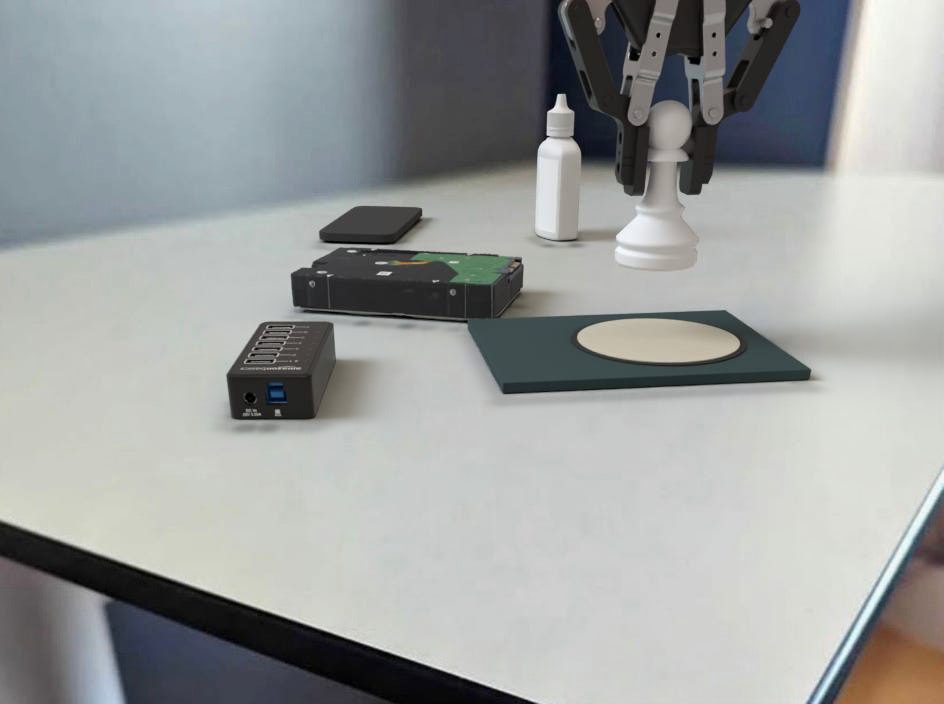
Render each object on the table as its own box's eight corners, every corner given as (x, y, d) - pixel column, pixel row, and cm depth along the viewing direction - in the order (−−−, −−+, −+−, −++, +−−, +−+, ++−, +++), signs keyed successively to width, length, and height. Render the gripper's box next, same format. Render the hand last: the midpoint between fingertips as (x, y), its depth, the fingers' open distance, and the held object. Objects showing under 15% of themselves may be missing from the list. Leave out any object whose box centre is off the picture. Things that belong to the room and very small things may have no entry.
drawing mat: (724, 318, 71) (725, 307, 71) (810, 379, 59) (812, 366, 59) (467, 328, 69) (467, 316, 69) (502, 393, 57) (502, 380, 57)
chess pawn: (706, 271, 61) (725, 103, 57) (623, 272, 61) (636, 103, 56) (684, 254, 66) (701, 97, 61) (607, 256, 65) (617, 97, 61)
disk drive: (291, 314, 73) (496, 324, 70) (287, 273, 71) (496, 281, 68) (340, 282, 81) (524, 289, 78) (337, 245, 80) (525, 251, 77)
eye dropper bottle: (529, 240, 96) (533, 96, 89) (536, 230, 100) (541, 92, 94) (576, 242, 95) (583, 96, 89) (581, 231, 100) (588, 92, 93)
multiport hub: (336, 358, 63) (334, 320, 62) (314, 418, 53) (310, 375, 52) (264, 358, 63) (261, 320, 62) (229, 418, 53) (224, 375, 52)
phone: (314, 232, 94) (355, 205, 107) (315, 242, 95) (355, 213, 108) (393, 235, 93) (425, 207, 106) (393, 244, 94) (425, 215, 106)
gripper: (578, -185, 48) (560, 206, 57) (858, -178, 50) (799, 201, 59) (545, -161, 55) (534, 187, 64) (795, -156, 56) (750, 183, 65)
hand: (662, 192), depth 61 cm, fingers closed on chess pawn, 3 cm apart
